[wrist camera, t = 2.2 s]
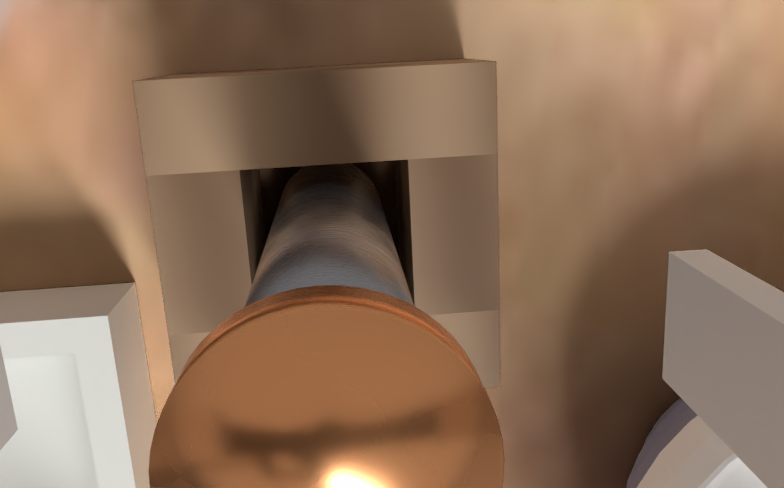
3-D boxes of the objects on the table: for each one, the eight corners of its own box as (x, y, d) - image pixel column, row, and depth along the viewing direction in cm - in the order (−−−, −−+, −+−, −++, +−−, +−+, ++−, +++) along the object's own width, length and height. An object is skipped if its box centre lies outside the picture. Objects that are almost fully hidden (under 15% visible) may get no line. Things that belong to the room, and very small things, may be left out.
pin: (269, 277, 27) (173, 640, 10) (256, 146, 26) (123, 324, 9) (400, 268, 27) (506, 606, 11) (393, 138, 26) (501, 295, 9)
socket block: (205, 349, 27) (179, 414, 22) (171, 74, 25) (132, 81, 20) (471, 328, 28) (500, 387, 23) (464, 58, 25) (496, 61, 20)
